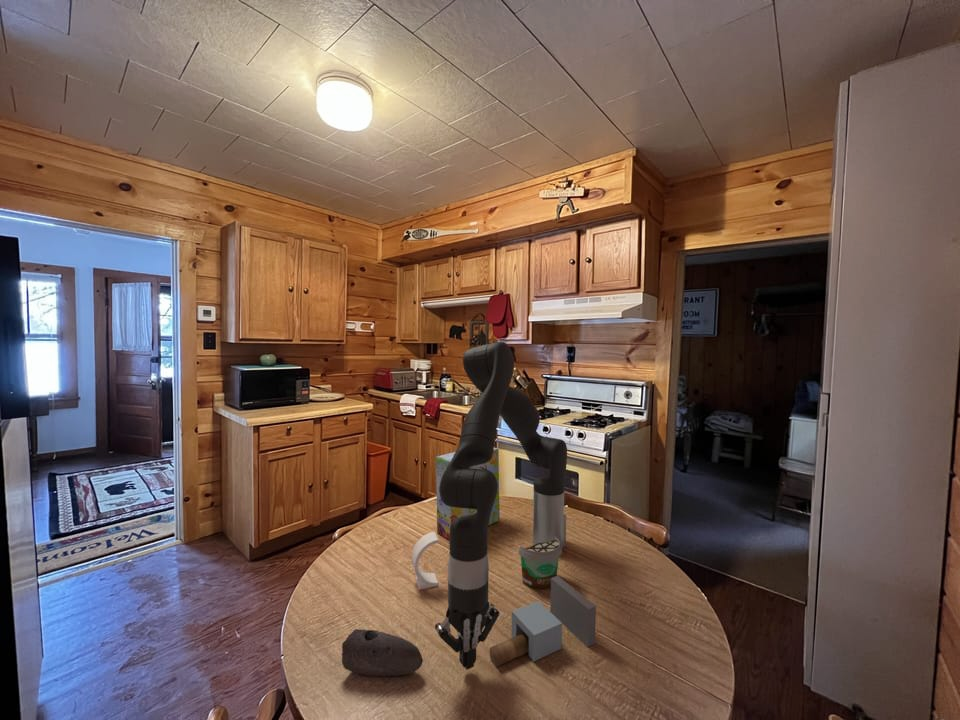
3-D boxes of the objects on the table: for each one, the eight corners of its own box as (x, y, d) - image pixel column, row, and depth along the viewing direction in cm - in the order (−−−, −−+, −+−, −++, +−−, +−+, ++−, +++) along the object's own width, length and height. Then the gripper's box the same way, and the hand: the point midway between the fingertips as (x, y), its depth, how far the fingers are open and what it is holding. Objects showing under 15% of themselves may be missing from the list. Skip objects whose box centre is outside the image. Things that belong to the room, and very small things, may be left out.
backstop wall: (557, 609, 92) (557, 575, 92) (595, 643, 82) (595, 606, 81) (550, 611, 91) (550, 578, 91) (587, 647, 81) (588, 609, 80)
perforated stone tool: (426, 664, 76) (426, 629, 76) (418, 688, 71) (418, 651, 70) (352, 656, 78) (352, 622, 78) (339, 678, 73) (339, 642, 72)
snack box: (483, 513, 143) (484, 443, 142) (500, 522, 137) (501, 448, 135) (434, 533, 128) (434, 454, 127) (451, 543, 122) (451, 461, 121)
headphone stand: (438, 585, 101) (438, 539, 100) (414, 590, 99) (414, 543, 98) (434, 575, 105) (434, 531, 104) (411, 580, 103) (411, 535, 102)
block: (538, 624, 87) (538, 600, 87) (561, 648, 80) (562, 623, 80) (511, 635, 83) (511, 611, 83) (533, 661, 77) (534, 635, 76)
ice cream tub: (531, 598, 96) (532, 558, 96) (517, 584, 101) (518, 546, 101) (571, 584, 102) (572, 546, 101) (556, 571, 107) (556, 535, 107)
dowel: (521, 640, 82) (524, 629, 81) (530, 655, 79) (533, 643, 78) (488, 654, 78) (491, 643, 77) (496, 670, 75) (499, 659, 74)
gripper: (489, 556, 80) (488, 639, 80) (427, 574, 73) (427, 664, 74) (509, 576, 73) (508, 666, 74) (443, 597, 67) (443, 696, 68)
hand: (467, 665), depth 74 cm, fingers closed
